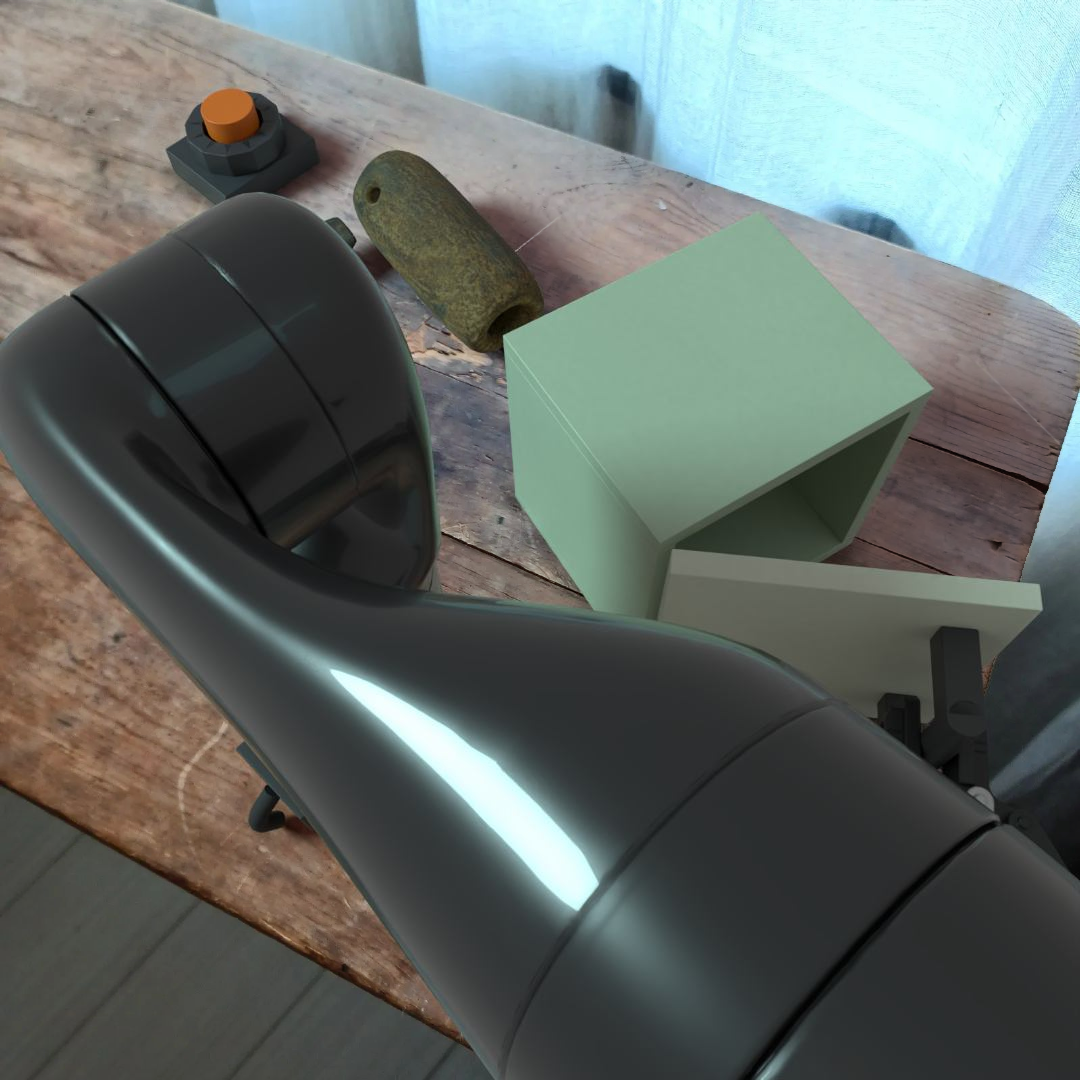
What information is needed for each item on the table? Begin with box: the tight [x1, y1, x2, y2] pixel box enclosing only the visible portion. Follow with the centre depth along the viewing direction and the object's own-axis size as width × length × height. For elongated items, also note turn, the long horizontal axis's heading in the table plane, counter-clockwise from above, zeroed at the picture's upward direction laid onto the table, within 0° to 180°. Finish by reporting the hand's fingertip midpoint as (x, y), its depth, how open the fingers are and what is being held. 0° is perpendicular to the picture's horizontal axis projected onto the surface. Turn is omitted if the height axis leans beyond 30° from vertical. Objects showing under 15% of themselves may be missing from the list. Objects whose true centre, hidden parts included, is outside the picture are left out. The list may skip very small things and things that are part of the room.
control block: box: [165, 90, 321, 206], centre depth 73 cm, size 8×7×4 cm
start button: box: [201, 88, 260, 144], centre depth 71 cm, size 4×4×2 cm
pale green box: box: [503, 210, 935, 620], centre depth 54 cm, size 13×15×15 cm
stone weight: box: [352, 149, 545, 354], centre depth 66 cm, size 15×7×7 cm, turn 40°
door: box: [657, 549, 1044, 771], centre depth 47 cm, size 6×15×15 cm, turn 83°
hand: (930, 706), depth 46 cm, fingers closed on door
